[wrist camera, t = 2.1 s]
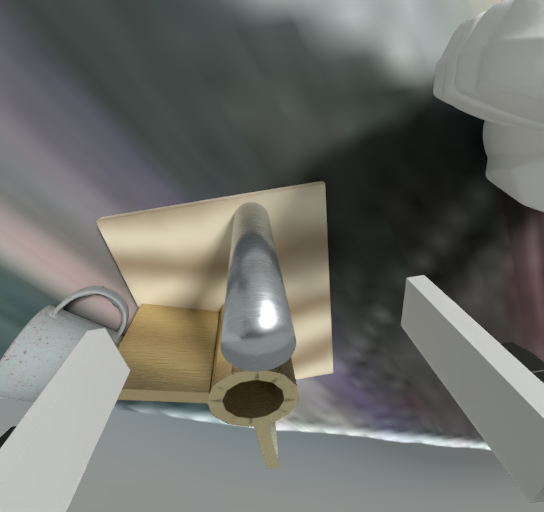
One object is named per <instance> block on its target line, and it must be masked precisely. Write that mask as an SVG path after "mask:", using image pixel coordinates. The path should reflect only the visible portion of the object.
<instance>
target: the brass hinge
mask: <svg viewBox="0 0 544 512" xmlns="http://www.w3.org/2000/svg"><path fill="white" fill-rule="evenodd" d="M224 306H225V303H224V304H223V305H222V307H221V310H220V313H219V311H211V310H201V309H191V308H181V307H172V306H162V305H152V304H141V306H140V308H139V309H138V311H137V313H136V315H135V317H134V319H133V321H132V322H131V324H130V326H129V328H128V330H127V332H126V334H125V336H124V337H123V339H122V341H121V343H120V345H119V347H118V351H119V352H120V354H121V356H122V357H123V359H124V361H125V363H126V364H127V366H128V368H129V369H130V373H129V375H128V377H127V379H126V381H125V383H124V386H123V388H122V390H121V392H120V394H119V397H118V399H117V400H140V401H165V402H189V403H208V406H209V408H210V410H211V412H212V414H213V415H214V416H215V417H217V418H219V419H221V420H222V421H224V422H226V423H228V424H232V425H239V426H247V427H249V426H251V427H252V426H254V429H255V432H256V435H257V438H258V442H259V445H260V448H261V451H262V454H263V457H264V461H265V464H266V467H267V469H271V468H277V467H279V457H278V446H277V437H276V426H275V421H277V420H278V419H280V418H282V417H284V416H286V415H288V414H289V413H290V412H291V411H292V409H293V408H294V406H295V405H296V403H297V402H298V399H299V398H298V391H297V385H296V379H295V374H294V369H293V363H292V358H291V357H290V358H289V359H288V360H287V361H286V362H285V363H283V364H282V365H280V366H278V367H276V368H274V369H270V370H266V371H259V372H252V371H245V370H241V369H238V368H236V367H234V366H232V365H231V364H230V363H228V362H227V361H226V360H225V358H224V357H223V355H222V353H221V348H220V344H221V335H222V325H223V316H224Z"/></svg>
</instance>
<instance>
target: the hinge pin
mask: <svg viewBox="0 0 544 512" xmlns="http://www.w3.org/2000/svg"><path fill="white" fill-rule="evenodd" d="M220 348H221V353H222V355H223V357H224V358H225V360H226V361H227V362H228V363H230V364H231V365H232V366H234V367H236V368H238V369H241V370H245V371H252V372H259V371H266V370H270V369H274V368H276V367H278V366H280V365H282V364H283V363H285V362H286V361H287V360H288V359H289V358H290V357H291V356H292V355H293V353H294V351H295V348H296V336H295V332H294V327H293V323H292V318H291V314H290V309H289V305H288V300H287V296H286V292H285V287H284V283H283V278H282V274H281V269H280V265H279V260H278V256H277V251H276V247H275V242H274V238H273V233H272V229H271V224H270V220H269V215H268V212H267V210H266V209H265V208H264V207H263V206H262V205H260V204H258V203H255V202H248V203H244V204H242V205H241V206H239V207H238V208H237V210H236V211H235V214H234V221H233V230H232V240H231V249H230V259H229V268H228V278H227V287H226V297H225V306H224V316H223V325H222V335H221V344H220Z"/></svg>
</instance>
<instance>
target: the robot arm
mask: <svg viewBox="0 0 544 512" xmlns="http://www.w3.org/2000/svg"><path fill="white" fill-rule="evenodd" d="M401 326H402V328H403V329H404V331H405V332H406V333H407V335H408V336H409V337H410V339H411V340H412V341H413V343H414V344H415V346H416V347H417V348H418V350H419V351H420V352H421V354H422V355H423V357H424V358H425V359H426V361H427V362H428V363H429V365H430V366H431V368H432V369H433V370H434V372H435V373H436V374H437V376H438V377H439V379H440V380H441V381H442V383H443V384H444V385H445V387H446V388H447V390H448V391H449V392H450V394H451V395H452V396H453V398H454V399H455V400H456V402H457V403H458V405H459V406H460V407H461V409H462V410H463V411H464V413H465V414H466V416H467V417H468V418H469V420H470V421H471V422H472V424H473V425H474V427H475V428H476V429H477V431H478V432H479V433H480V435H481V436H482V438H483V439H484V440H485V442H486V443H487V444H488V446H489V447H490V449H491V450H492V451H493V453H494V454H495V455H496V457H497V458H498V459H499V461H500V462H501V464H502V465H503V466H504V468H505V469H506V470H507V472H508V473H509V475H510V476H511V477H512V479H513V480H514V481H515V483H516V484H517V486H518V487H519V488H520V490H521V491H522V492H523V494H524V495H525V496H526V498H527V499H528V500H529V502H530V503H536V502H542V501H544V362H543V361H541V360H540V359H539V358H538V357H537V356H535V355H534V354H533V353H531V352H529V351H528V350H526V349H524V348H522V347H520V346H518V345H517V344H515V343H513V342H510V343H504V344H500V343H499V342H497V341H496V340H495V339H494V338H493V337H492V336H491V335H490V334H489V333H488V332H486V331H485V330H484V329H483V328H482V327H481V326H480V325H479V324H478V323H477V322H475V321H474V320H473V319H472V318H471V317H470V316H469V315H468V314H467V313H465V312H464V311H463V310H462V309H461V308H460V307H459V306H458V305H457V304H456V303H454V302H453V301H452V300H451V299H450V298H449V297H448V296H447V295H446V294H445V293H443V292H442V291H441V290H440V289H439V288H438V287H437V286H436V285H435V284H433V283H432V282H431V281H430V280H429V279H428V278H427V277H426V276H425V275H421V276H415V277H409V278H406V287H405V295H404V303H403V311H402V320H401ZM129 373H130V369H129V368H128V366H127V364H126V363H125V361H124V359H123V357H122V356H121V354H120V352H119V351H118V349H117V347H116V346H115V344H114V342H113V341H112V339H111V337H110V336H109V334H108V332H107V331H106V329H105V328H102V329H96V330H90V331H87V332H86V333H85V335H84V336H83V337H82V339H81V340H80V341H79V343H78V344H77V345H76V347H75V348H74V349H73V351H72V352H71V354H70V355H69V356H68V358H67V359H66V360H65V362H64V363H63V364H62V366H61V367H60V368H59V370H58V371H57V372H56V374H55V375H54V377H53V378H52V379H51V381H50V382H49V383H48V385H47V386H46V387H45V389H44V390H43V391H42V393H41V394H40V395H39V397H38V398H37V400H36V401H35V402H34V404H33V405H32V406H31V408H30V409H29V411H28V412H27V413H26V414H25V416H24V417H23V418H22V420H21V421H20V423H19V424H18V425H17V426H15V427H11V428H10V429H9V430H8V431H7V432H6V433H5V434H4V435H2V436H1V437H0V512H66V511H67V508H68V506H69V504H70V502H71V500H72V497H73V495H74V493H75V491H76V489H77V486H78V484H79V482H80V480H81V478H82V476H83V473H84V471H85V469H86V467H87V465H88V462H89V460H90V458H91V456H92V454H93V451H94V449H95V446H96V445H97V443H98V440H99V438H100V436H101V434H102V432H103V429H104V427H105V425H106V423H107V421H108V419H109V416H110V414H111V412H112V410H113V408H114V405H115V403H116V401H117V399H118V397H119V394H120V392H121V390H122V388H123V386H124V383H125V381H126V379H127V377H128V375H129Z"/></svg>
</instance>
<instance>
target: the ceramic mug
mask: <svg viewBox="0 0 544 512" xmlns="http://www.w3.org/2000/svg"><path fill="white" fill-rule="evenodd" d="M90 294H100V295H103V296H105V297H107V298H109V299H110V300H111V301H112V303H113V304H114V305H116V306H117V307H118V308H119V310H120V311H121V313H122V324H121V327H120V329H119V330H118V331H117V332H116V331H114V330H112V329H109V328H107V327H104V326H101V325H99V324H96V323H94V322H91V321H89V320H87V319H84V318H82V317H80V316H77V315H75V314H73V313H70V312H68V311H65V310H63V307H64V306H65V305H66V304H68V303H69V302H71V301H72V300H74V299H76V298H79V297H82V296H87V295H90ZM128 317H129V310H128V306H127V304H126V302H125V301H124V299H123V298H122V297H121V296H120V295H119V294H117V293H116V292H114V291H112V290H110V289H107V288H104V287H96V286H93V287H87V288H83V289H80V290H78V291H76V292H74V293H72V294H71V295H70V296H68V297H67V298H66V299H65V300H63V301H62V302H61V303H60V304H59V305H58V306H57V307H55V306H51V305H49V306H46V307H44V308H43V309H42V310H41V311H40V312H38V313H37V314H36V315H35V316H34V317H33V318H32V319H31V320H30V321H29V323H28V324H27V325H26V326H25V327H24V328H23V330H22V331H21V332H20V333H19V335H18V336H17V337H16V339H15V340H14V341H13V343H12V344H11V345H10V347H9V348H8V350H7V351H6V353H5V354H4V355H3V357H2V359H1V360H0V397H6V398H13V399H19V400H24V401H30V402H35V401H36V400H37V398H38V397H39V395H40V394H41V393H42V391H43V390H44V389H45V387H46V386H47V385H48V383H49V382H50V381H51V379H52V378H53V377H54V375H55V374H56V372H57V371H58V370H59V368H60V367H61V366H62V364H63V363H64V362H65V360H66V359H67V358H68V356H69V355H70V354H71V352H72V351H73V349H74V348H75V347H76V345H77V344H78V343H79V341H80V340H81V339H82V337H83V336H84V335H85V333H86V332H87V331H90V330H96V329H102V328H105V329H106V331H107V332H108V334H109V336H110V337H111V339H112V341H113V342H114V344H115V346H116V347H117V349H118V347H119V345H120V343H121V341H122V339H123V337H124V336H122V333H123V331H124V329H125V327H126V324H127V321H128Z"/></svg>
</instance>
